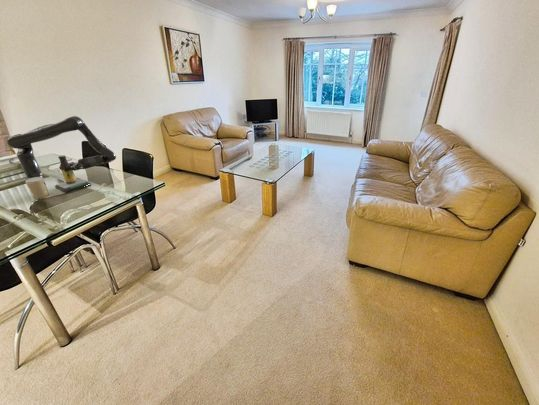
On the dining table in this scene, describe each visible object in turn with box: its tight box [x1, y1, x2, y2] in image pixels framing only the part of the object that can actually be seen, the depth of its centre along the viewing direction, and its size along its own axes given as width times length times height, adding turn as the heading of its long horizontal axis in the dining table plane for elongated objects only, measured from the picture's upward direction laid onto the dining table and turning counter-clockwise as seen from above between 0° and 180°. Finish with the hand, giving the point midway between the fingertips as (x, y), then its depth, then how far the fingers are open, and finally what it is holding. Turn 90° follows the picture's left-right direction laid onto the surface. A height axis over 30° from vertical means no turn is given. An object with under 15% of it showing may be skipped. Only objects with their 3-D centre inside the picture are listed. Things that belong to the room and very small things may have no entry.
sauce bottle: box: [57, 154, 76, 184], centre depth 177 cm, size 6×6×20 cm
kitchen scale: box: [54, 177, 92, 194], centre depth 181 cm, size 16×16×3 cm
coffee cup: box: [24, 176, 50, 199], centre depth 166 cm, size 9×9×12 cm
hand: (62, 169), depth 174 cm, fingers closed on sauce bottle, 6 cm apart
